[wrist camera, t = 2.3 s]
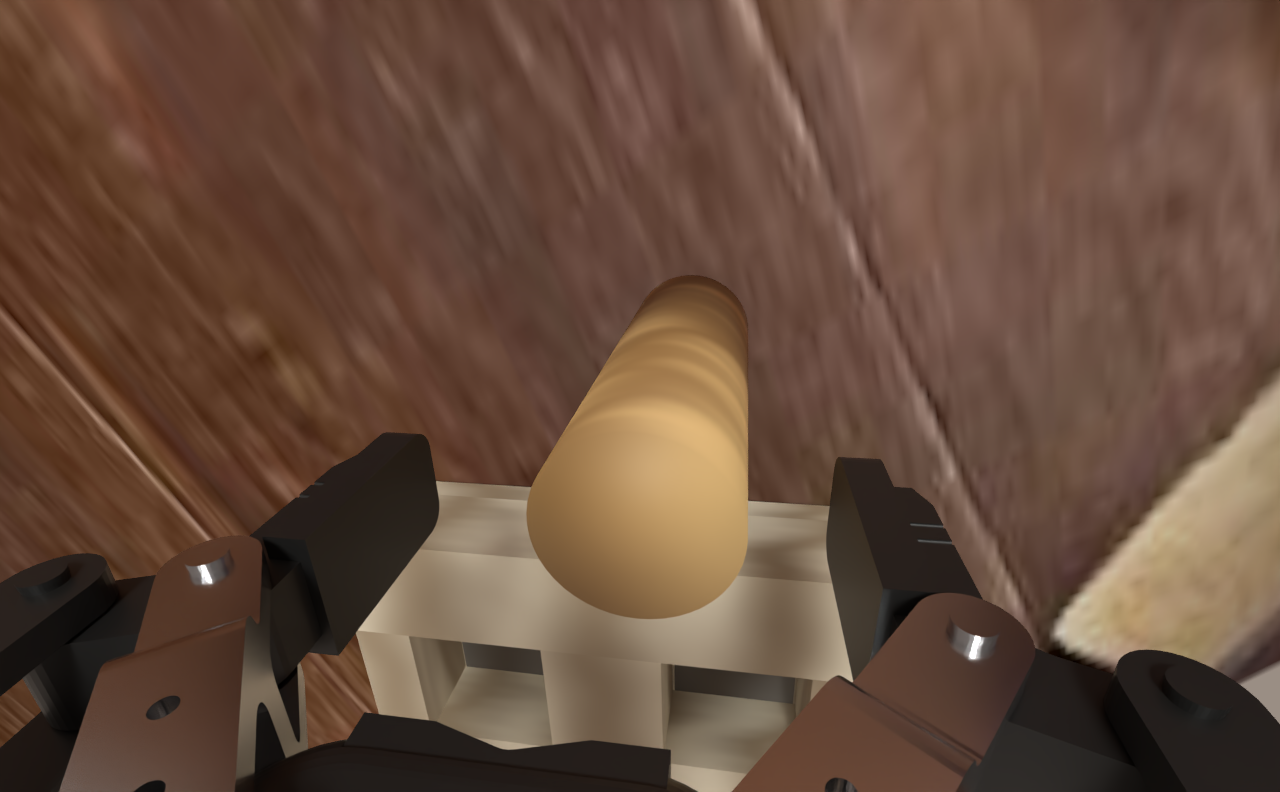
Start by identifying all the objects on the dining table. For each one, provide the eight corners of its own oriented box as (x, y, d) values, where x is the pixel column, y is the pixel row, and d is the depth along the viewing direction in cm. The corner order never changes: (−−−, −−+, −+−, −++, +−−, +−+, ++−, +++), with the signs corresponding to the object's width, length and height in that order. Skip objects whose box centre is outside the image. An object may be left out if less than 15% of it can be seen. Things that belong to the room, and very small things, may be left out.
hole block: (872, 508, 23) (898, 589, 19) (836, 755, 29) (850, 858, 25) (394, 478, 26) (330, 542, 22) (444, 705, 32) (401, 789, 28)
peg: (750, 275, 21) (753, 437, 10) (745, 384, 22) (743, 628, 11) (634, 274, 21) (514, 426, 10) (637, 380, 23) (537, 608, 12)
